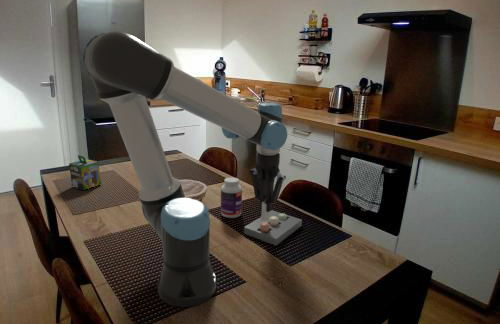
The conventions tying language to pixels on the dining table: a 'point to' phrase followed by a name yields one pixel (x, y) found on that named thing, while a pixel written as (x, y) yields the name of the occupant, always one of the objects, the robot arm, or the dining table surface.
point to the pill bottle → (231, 198)
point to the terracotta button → (264, 227)
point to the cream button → (274, 221)
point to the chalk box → (85, 173)
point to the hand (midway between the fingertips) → (265, 219)
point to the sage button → (282, 216)
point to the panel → (273, 229)
